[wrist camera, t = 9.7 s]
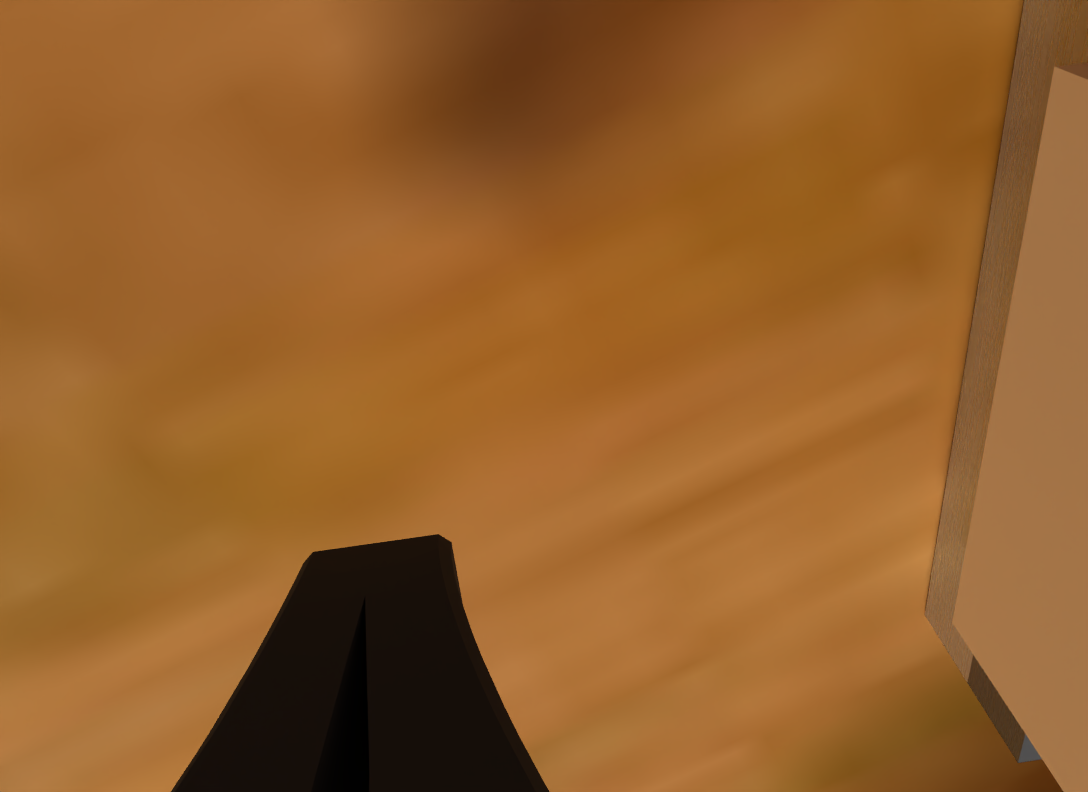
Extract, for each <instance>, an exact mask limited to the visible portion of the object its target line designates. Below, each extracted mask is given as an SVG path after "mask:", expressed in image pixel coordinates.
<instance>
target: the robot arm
mask: <svg viewBox="0 0 1088 792" xmlns="http://www.w3.org/2000/svg"><path fill="white" fill-rule="evenodd" d="M171 792H549V790H548V788H547V787H546V785H545V783H544V781H543V780H542V778H541V776H540V774H539V772H538V770H537V769H536V767H535V765H534V763H533V761H532V759H531V757H530V756H529V754H528V752H527V750H526V748H525V746H524V744H523V743H522V741H521V739H520V737H519V735H518V733H517V731H516V729H515V727H514V725H513V723H512V721H511V719H510V717H509V715H508V713H507V711H506V709H505V707H504V705H503V703H502V700H501V698H500V696H499V694H498V692H497V689H496V687H495V685H494V683H493V681H492V678H491V676H490V674H489V672H488V669H487V667H486V665H485V663H484V661H483V658H482V656H481V654H480V651H479V649H478V646H477V644H476V641H475V639H474V636H473V633H472V631H471V628H470V625H469V622H468V619H467V616H466V613H465V610H464V607H463V604H462V598H461V593H460V587H459V582H458V576H457V571H456V565H455V560H454V554H453V549H452V543H451V542H450V541H448V540H447V539H445V538H444V537H442V536H440V535H439V534H437V535H430V536H423V537H416V538H409V539H402V540H394V541H387V542H380V543H373V544H366V545H359V546H352V547H345V548H338V549H331V550H324V551H317V552H313V553H312V554H311V555H310V556H309V557H308V558H307V560H306V561H305V562H304V563H303V565H302V567H301V569H300V571H299V573H298V575H297V577H296V579H295V581H294V583H293V585H292V587H291V589H290V591H289V593H288V595H287V597H286V599H285V601H284V603H283V605H282V607H281V609H280V611H279V613H278V614H277V616H276V618H275V620H274V622H273V624H272V626H271V628H270V629H269V631H268V633H267V635H266V637H265V638H264V640H263V642H262V644H261V646H260V648H259V649H258V651H257V653H256V655H255V657H254V658H253V660H252V662H251V664H250V666H249V667H248V669H247V671H246V672H245V674H244V676H243V677H242V679H241V681H240V682H239V684H238V686H237V687H236V689H235V691H234V693H233V694H232V696H231V698H230V699H229V701H228V703H227V704H226V706H225V708H224V709H223V711H222V713H221V714H220V716H219V718H218V719H217V721H216V723H215V724H214V726H213V728H212V729H211V731H210V733H209V734H208V736H207V738H206V739H205V741H204V742H203V744H202V746H201V747H200V749H199V750H198V752H197V753H196V755H195V756H194V758H193V759H192V761H191V762H190V764H189V765H188V767H187V768H186V770H185V771H184V773H183V774H182V776H181V777H180V779H179V780H178V782H177V783H176V785H175V786H174V788H173V789H172V791H171Z"/></svg>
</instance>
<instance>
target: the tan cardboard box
mask: <svg viewBox="0 0 1088 792" xmlns="http://www.w3.org/2000/svg"><path fill="white" fill-rule="evenodd" d="M952 623H953V625H954V626H955V628H956V629H957V631H958V632H959V634H960V635H961V637H962V638H963V640H964V641H965V643H966V644H967V646H968V647H969V649H970V650H971V652H972V653H973V655H974V656H975V658H976V660H977V661H978V663H979V664H980V666H981V667H982V669H983V670H984V672H985V673H986V675H987V676H988V678H989V679H990V681H991V682H992V684H993V685H994V687H995V688H996V690H997V691H998V693H999V694H1000V696H1001V697H1002V699H1003V700H1004V702H1005V704H1006V705H1007V707H1008V708H1009V710H1010V711H1011V713H1012V714H1013V716H1014V717H1015V719H1016V720H1017V722H1018V723H1019V725H1020V726H1021V728H1022V729H1023V731H1024V732H1025V734H1026V735H1027V737H1028V738H1029V740H1030V741H1031V743H1032V744H1033V746H1034V748H1035V749H1036V751H1037V752H1038V754H1039V755H1040V757H1041V758H1042V760H1043V761H1044V763H1045V764H1046V766H1047V767H1048V769H1049V770H1050V772H1051V773H1052V775H1053V776H1054V778H1055V779H1056V781H1057V782H1058V784H1059V785H1060V787H1061V789H1062V790H1063V792H1088V62H1087V63H1078V64H1070V65H1062V66H1054V71H1053V76H1052V81H1051V87H1050V92H1049V98H1048V103H1047V109H1046V114H1045V120H1044V125H1043V131H1042V136H1041V141H1040V147H1039V152H1038V158H1037V163H1036V169H1035V174H1034V180H1033V185H1032V190H1031V196H1030V201H1029V207H1028V212H1027V218H1026V223H1025V229H1024V234H1023V240H1022V245H1021V250H1020V256H1019V261H1018V267H1017V272H1016V278H1015V283H1014V289H1013V294H1012V299H1011V305H1010V310H1009V316H1008V321H1007V327H1006V332H1005V338H1004V343H1003V349H1002V354H1001V359H1000V365H999V370H998V376H997V381H996V387H995V392H994V398H993V403H992V409H991V414H990V419H989V425H988V430H987V436H986V441H985V447H984V452H983V458H982V463H981V468H980V474H979V479H978V485H977V490H976V496H975V501H974V507H973V512H972V518H971V523H970V528H969V534H968V539H967V545H966V550H965V556H964V561H963V567H962V572H961V577H960V583H959V588H958V594H957V599H956V605H955V610H954V616H953V621H952Z"/></svg>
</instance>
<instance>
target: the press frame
mask: <svg viewBox="0 0 1088 792" xmlns="http://www.w3.org/2000/svg"><path fill="white" fill-rule="evenodd" d="M1087 62H1088V0H1024V5H1023V11H1022V17H1021V24H1020V30H1019V36H1018V42H1017V48H1016V54H1015V61H1014V67H1013V73H1012V79H1011V85H1010V92H1009V98H1008V104H1007V110H1006V116H1005V122H1004V129H1003V135H1002V141H1001V147H1000V153H999V160H998V166H997V172H996V178H995V184H994V190H993V197H992V203H991V209H990V215H989V221H988V227H987V234H986V240H985V246H984V252H983V258H982V265H981V271H980V277H979V283H978V289H977V295H976V302H975V308H974V314H973V320H972V326H971V332H970V339H969V345H968V351H967V357H966V363H965V370H964V376H963V382H962V388H961V394H960V400H959V407H958V413H957V419H956V425H955V431H954V437H953V444H952V450H951V456H950V462H949V468H948V475H947V481H946V487H945V493H944V499H943V505H942V512H941V518H940V524H939V530H938V536H937V543H936V549H935V555H934V561H933V567H932V573H931V580H930V586H929V592H928V598H927V604H926V610H925V616H926V618H927V619H928V621H929V623H930V624H931V626H932V627H933V629H934V631H935V632H936V634H937V635H938V637H939V638H940V640H941V642H942V643H943V645H944V646H945V648H946V650H947V651H948V653H949V654H950V656H951V657H952V659H953V661H954V662H955V664H956V665H957V667H958V669H959V670H960V672H961V673H962V675H963V676H964V678H965V680H966V681H967V683H968V684H969V686H970V688H971V689H972V691H973V692H974V694H975V695H976V697H977V699H978V700H979V702H980V703H981V705H982V707H983V708H984V710H985V711H986V713H987V715H988V716H989V718H990V719H991V721H992V722H993V724H994V726H995V727H996V729H997V730H998V732H999V734H1000V735H1001V737H1002V738H1003V740H1004V741H1005V743H1006V745H1007V746H1008V748H1009V749H1010V751H1011V753H1012V754H1013V756H1014V757H1015V759H1016V760H1017V762H1018V763H1020V762H1026V761H1033V760H1039V759H1042V758H1041V757H1040V755H1039V754H1038V752H1037V751H1036V749H1035V748H1034V746H1033V744H1032V743H1031V741H1030V740H1029V738H1028V737H1027V735H1026V734H1025V732H1024V731H1023V729H1022V728H1021V726H1020V725H1019V723H1018V722H1017V720H1016V719H1015V717H1014V716H1013V714H1012V713H1011V711H1010V710H1009V708H1008V707H1007V705H1006V704H1005V702H1004V700H1003V699H1002V697H1001V696H1000V694H999V693H998V691H997V690H996V688H995V687H994V685H993V684H992V682H991V681H990V679H989V678H988V676H987V675H986V673H985V672H984V670H983V669H982V667H981V666H980V664H979V663H978V661H977V660H976V658H975V656H974V655H973V653H972V652H971V650H970V649H969V647H968V646H967V644H966V643H965V641H964V640H963V638H962V637H961V635H960V634H959V632H958V631H957V629H956V628H955V626H954V625H953V623H952V621H953V616H954V610H955V605H956V599H957V594H958V588H959V583H960V577H961V572H962V567H963V561H964V556H965V550H966V545H967V539H968V534H969V528H970V523H971V518H972V512H973V507H974V501H975V496H976V490H977V485H978V479H979V474H980V468H981V463H982V458H983V452H984V447H985V441H986V436H987V430H988V425H989V419H990V414H991V409H992V403H993V398H994V392H995V387H996V381H997V376H998V370H999V365H1000V359H1001V354H1002V349H1003V343H1004V338H1005V332H1006V327H1007V321H1008V316H1009V310H1010V305H1011V299H1012V294H1013V289H1014V283H1015V278H1016V272H1017V267H1018V261H1019V256H1020V250H1021V245H1022V240H1023V234H1024V229H1025V223H1026V218H1027V212H1028V207H1029V201H1030V196H1031V190H1032V185H1033V180H1034V174H1035V169H1036V163H1037V158H1038V152H1039V147H1040V141H1041V136H1042V131H1043V125H1044V120H1045V114H1046V109H1047V103H1048V98H1049V92H1050V87H1051V81H1052V76H1053V71H1054V66H1062V65H1070V64H1078V63H1087Z"/></svg>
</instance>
